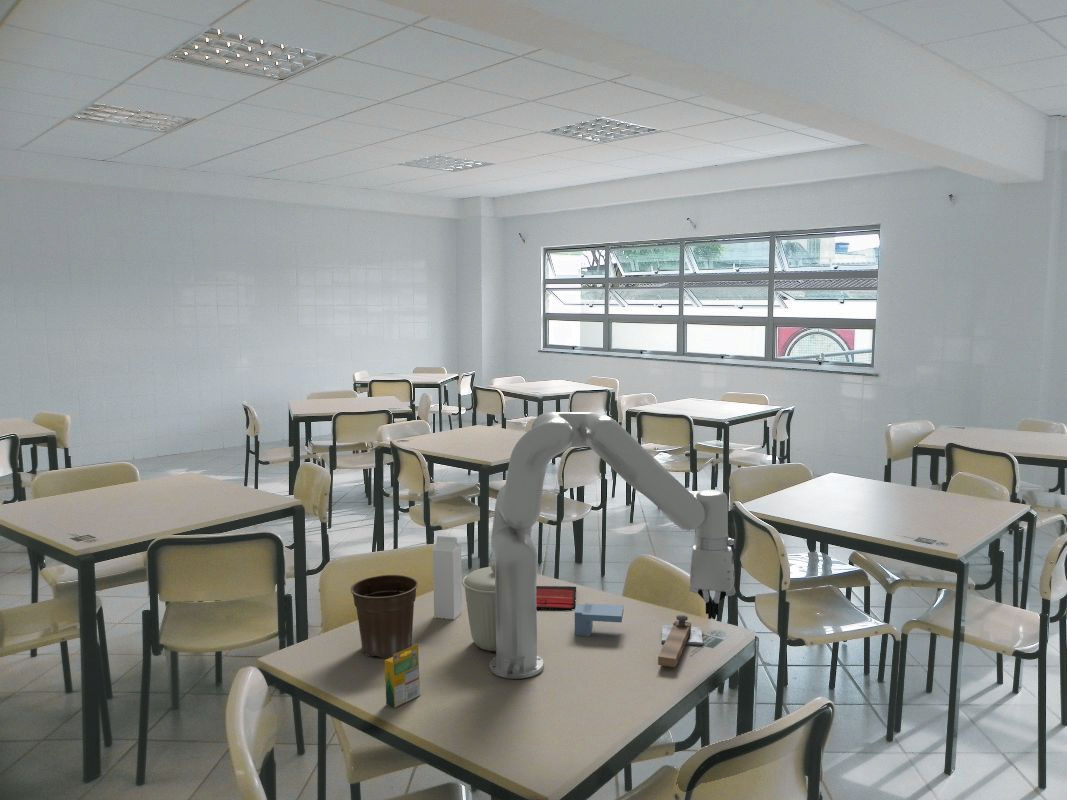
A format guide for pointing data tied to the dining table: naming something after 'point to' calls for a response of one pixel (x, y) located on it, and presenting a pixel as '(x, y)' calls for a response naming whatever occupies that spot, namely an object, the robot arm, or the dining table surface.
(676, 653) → the latch bar
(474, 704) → the dining table surface
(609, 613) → the block
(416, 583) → the plant pot
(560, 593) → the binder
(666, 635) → the pintle base
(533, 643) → the robot arm
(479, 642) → the canister
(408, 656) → the crayon box
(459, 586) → the milk
